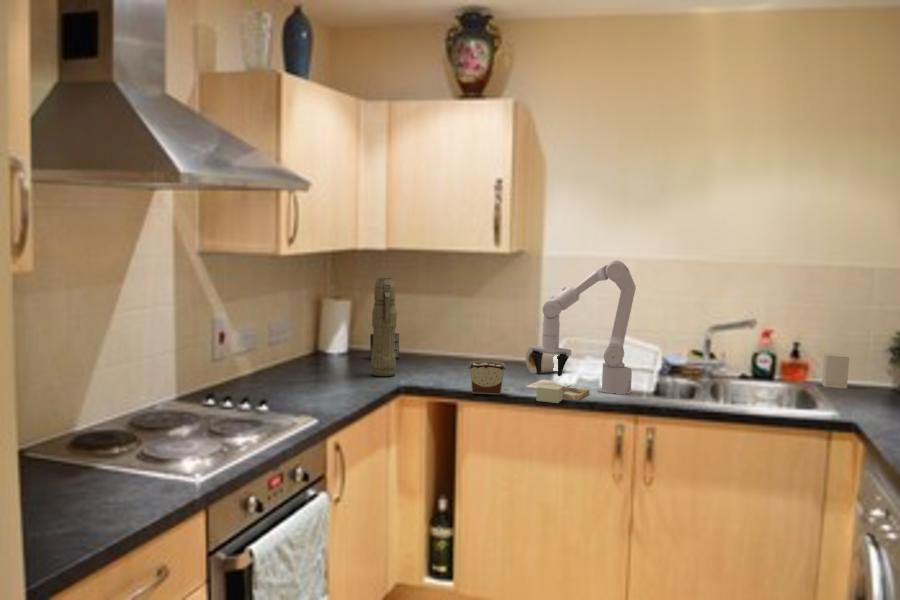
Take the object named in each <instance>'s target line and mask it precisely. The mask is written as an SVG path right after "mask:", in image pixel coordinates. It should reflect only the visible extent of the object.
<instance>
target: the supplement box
mask: <svg viewBox="0 0 900 600" xmlns="http://www.w3.org/2000/svg"><path fill="white" fill-rule="evenodd" d="M849 364H850V356H848V355H847V354H844V353H829V352H825V353H824V354H823V367H822V379H821V380H822V381H821V384H822V386H823V387H824V388H834V389H835V388H836V389H847V388H848V378H849Z"/></svg>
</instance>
